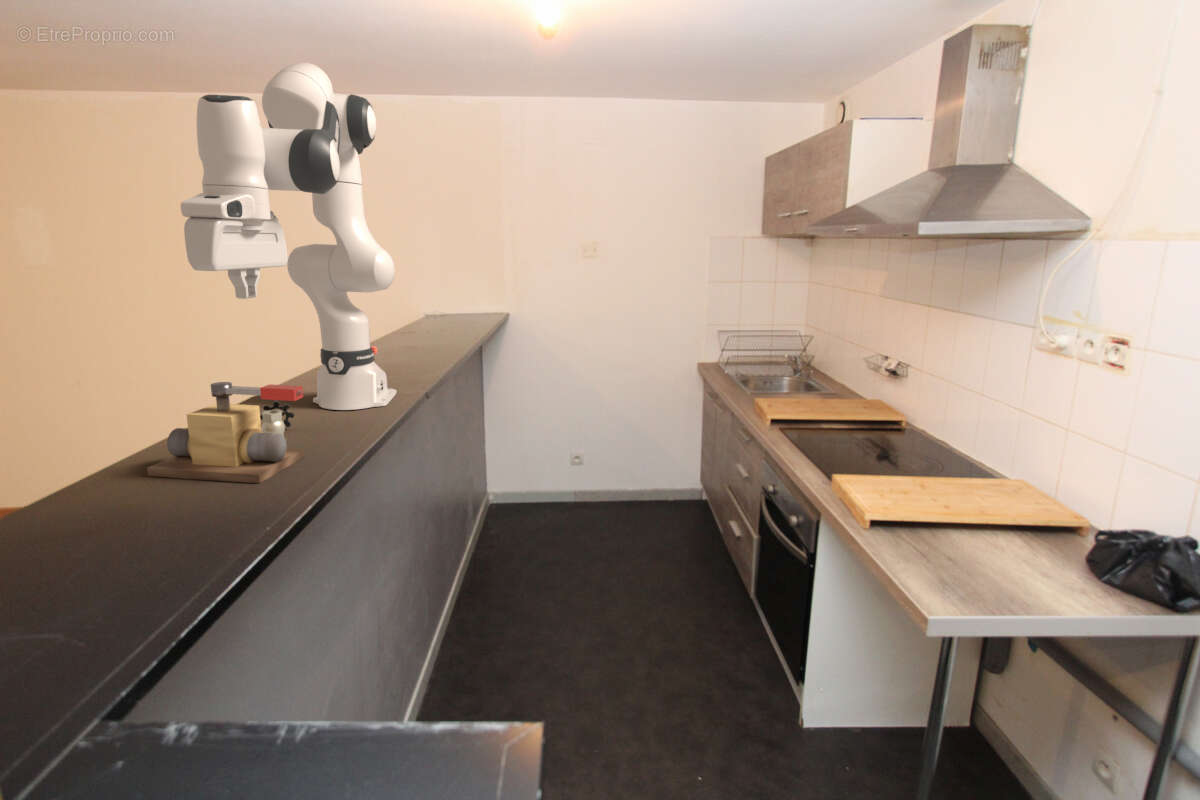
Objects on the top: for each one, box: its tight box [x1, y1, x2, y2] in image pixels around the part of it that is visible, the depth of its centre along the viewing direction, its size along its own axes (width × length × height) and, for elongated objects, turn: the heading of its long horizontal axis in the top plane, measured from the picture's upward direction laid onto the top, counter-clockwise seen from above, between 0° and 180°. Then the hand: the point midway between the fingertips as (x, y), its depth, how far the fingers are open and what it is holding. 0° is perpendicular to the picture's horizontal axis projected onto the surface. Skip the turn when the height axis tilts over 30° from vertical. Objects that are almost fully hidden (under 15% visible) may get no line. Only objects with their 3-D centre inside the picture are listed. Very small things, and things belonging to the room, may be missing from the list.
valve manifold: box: [146, 396, 305, 484], centre depth 114 cm, size 14×20×13 cm
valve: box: [260, 400, 295, 437], centre depth 132 cm, size 7×7×12 cm
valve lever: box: [210, 381, 304, 402], centre depth 112 cm, size 16×3×2 cm, turn 85°
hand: (247, 298), depth 102 cm, fingers closed
